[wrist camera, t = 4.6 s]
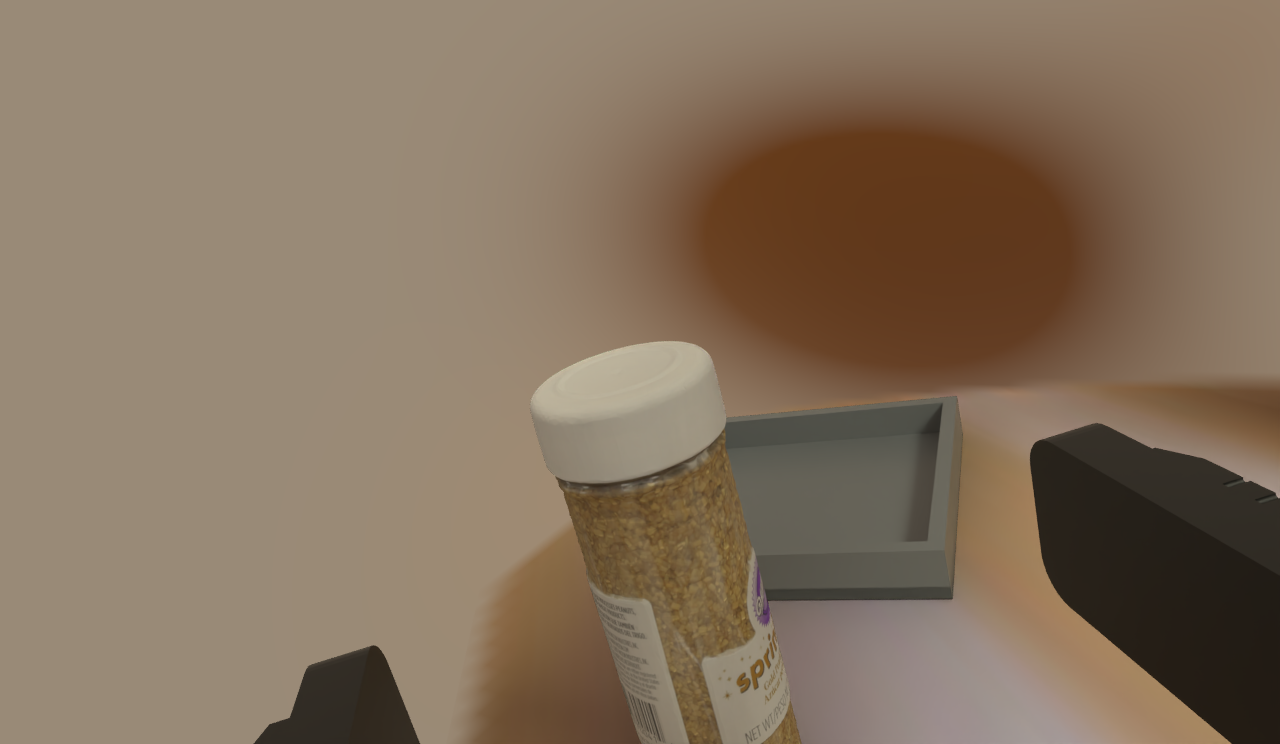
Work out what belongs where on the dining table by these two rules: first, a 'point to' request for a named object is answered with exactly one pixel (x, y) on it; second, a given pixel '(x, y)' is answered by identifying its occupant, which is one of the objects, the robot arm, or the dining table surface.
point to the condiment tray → (851, 498)
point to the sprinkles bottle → (667, 543)
